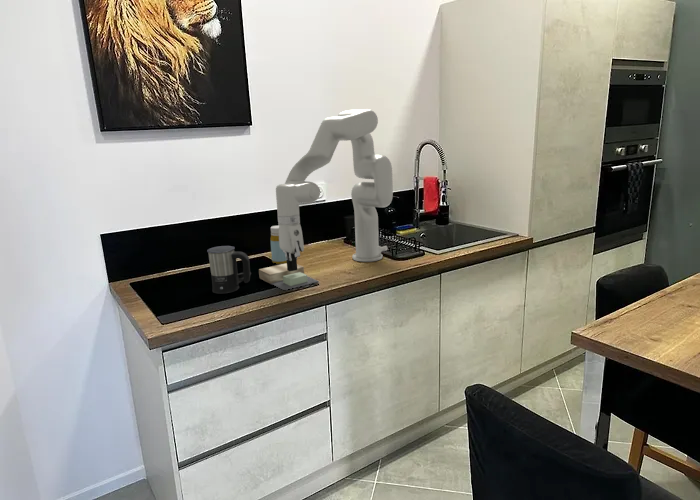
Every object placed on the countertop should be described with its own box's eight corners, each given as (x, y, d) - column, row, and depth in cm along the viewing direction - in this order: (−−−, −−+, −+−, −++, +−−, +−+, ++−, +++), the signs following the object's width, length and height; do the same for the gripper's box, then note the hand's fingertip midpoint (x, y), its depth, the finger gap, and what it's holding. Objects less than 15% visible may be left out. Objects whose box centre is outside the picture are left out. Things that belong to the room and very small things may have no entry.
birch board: (292, 270, 187) (291, 262, 187) (304, 275, 180) (303, 266, 180) (259, 278, 180) (258, 269, 179) (270, 284, 172) (269, 274, 172)
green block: (307, 275, 172) (307, 281, 172) (299, 272, 175) (300, 278, 176) (290, 279, 168) (290, 286, 168) (282, 276, 171) (283, 282, 172)
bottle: (269, 263, 198) (266, 228, 194) (277, 259, 204) (275, 224, 201) (283, 265, 195) (281, 229, 192) (292, 260, 202) (289, 225, 198)
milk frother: (211, 295, 163) (206, 253, 159) (212, 281, 178) (207, 242, 174) (254, 290, 166) (250, 249, 163) (251, 277, 181) (247, 239, 177)
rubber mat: (304, 276, 180) (304, 275, 180) (318, 282, 173) (318, 281, 172) (271, 284, 172) (270, 283, 172) (284, 290, 165) (284, 289, 165)
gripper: (309, 221, 164) (312, 272, 168) (287, 215, 176) (291, 263, 180) (289, 224, 160) (293, 277, 164) (269, 218, 171) (273, 267, 176)
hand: (292, 270), depth 172 cm, fingers closed
